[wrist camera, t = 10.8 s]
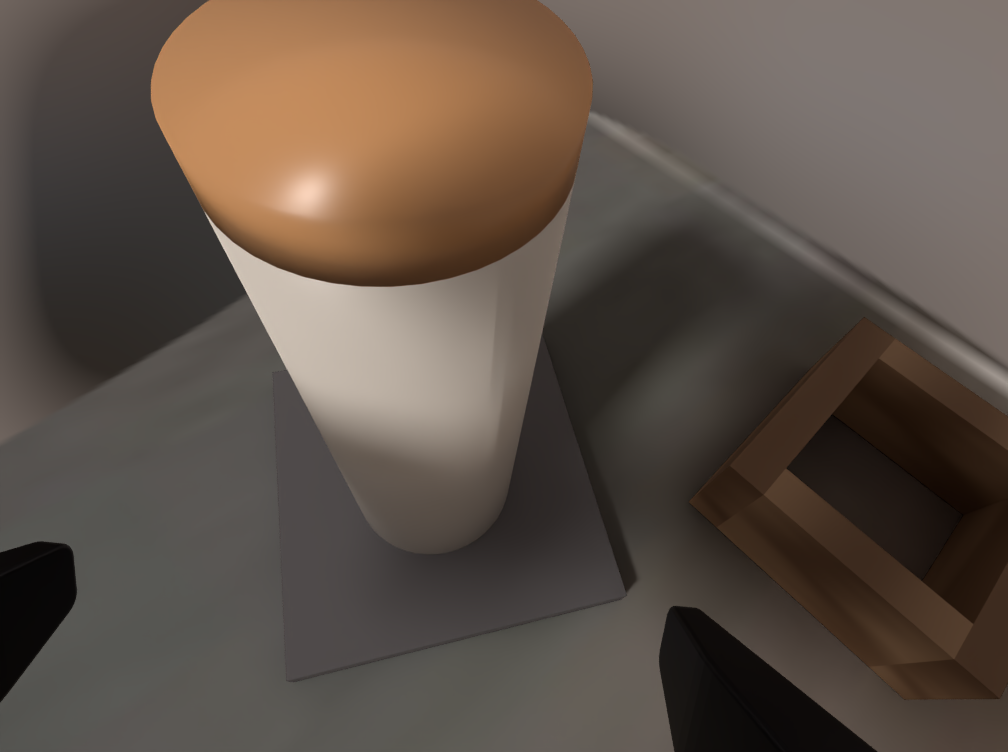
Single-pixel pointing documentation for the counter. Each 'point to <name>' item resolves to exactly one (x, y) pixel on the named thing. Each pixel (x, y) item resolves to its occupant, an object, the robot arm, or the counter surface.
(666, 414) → the counter surface
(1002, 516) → the socket block
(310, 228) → the plug
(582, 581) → the mat
